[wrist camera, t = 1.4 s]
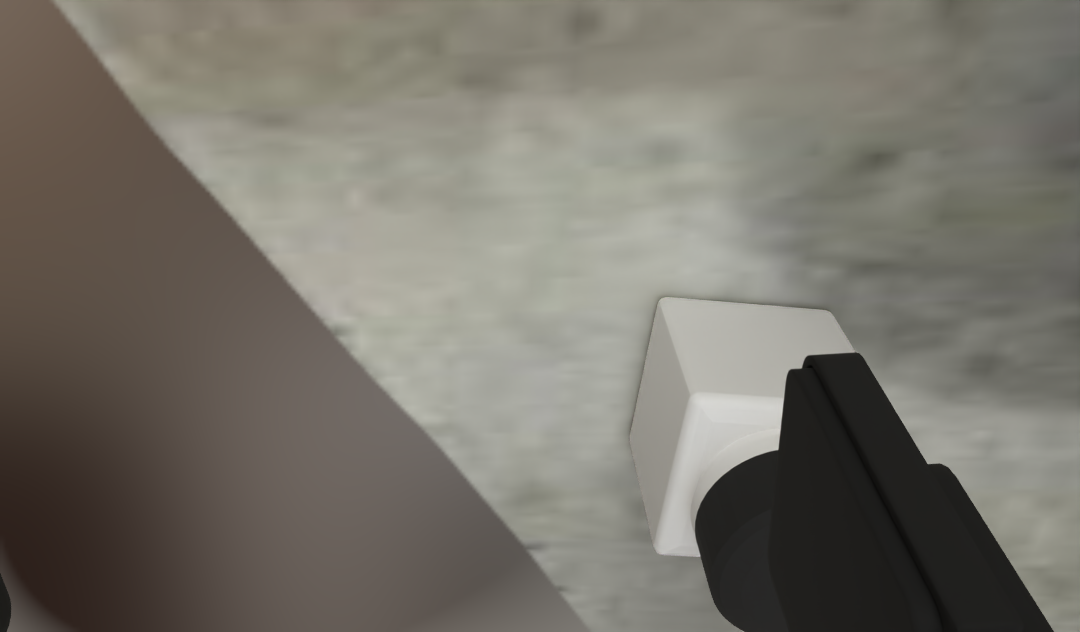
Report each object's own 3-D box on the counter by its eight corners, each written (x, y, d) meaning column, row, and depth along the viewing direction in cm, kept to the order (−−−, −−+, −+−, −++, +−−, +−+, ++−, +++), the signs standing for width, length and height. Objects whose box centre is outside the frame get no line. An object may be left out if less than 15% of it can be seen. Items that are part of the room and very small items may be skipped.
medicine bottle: (626, 439, 44) (677, 665, 33) (657, 292, 40) (724, 493, 30) (788, 450, 44) (887, 673, 34) (833, 307, 41) (957, 507, 31)
